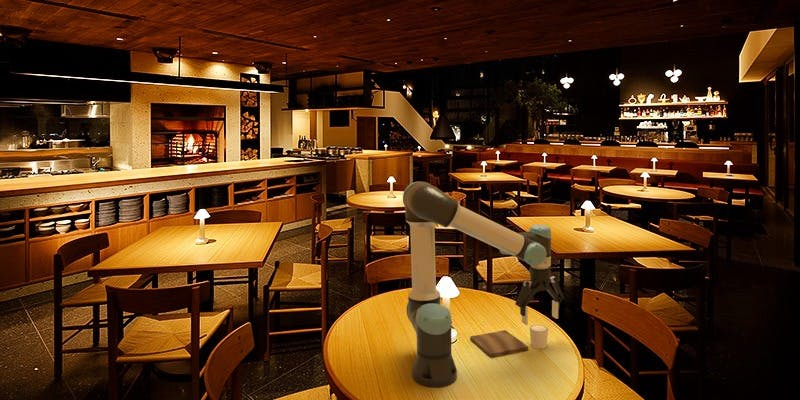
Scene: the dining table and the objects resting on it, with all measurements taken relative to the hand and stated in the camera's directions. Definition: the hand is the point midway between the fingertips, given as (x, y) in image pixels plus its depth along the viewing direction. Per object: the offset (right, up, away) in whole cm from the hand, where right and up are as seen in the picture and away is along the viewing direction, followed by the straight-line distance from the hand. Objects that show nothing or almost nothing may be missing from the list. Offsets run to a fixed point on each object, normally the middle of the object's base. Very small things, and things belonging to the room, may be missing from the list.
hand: (540, 320), depth 178 cm
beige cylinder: (0, -10, +1) cm, 10 cm away
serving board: (-15, -10, +3) cm, 19 cm away
